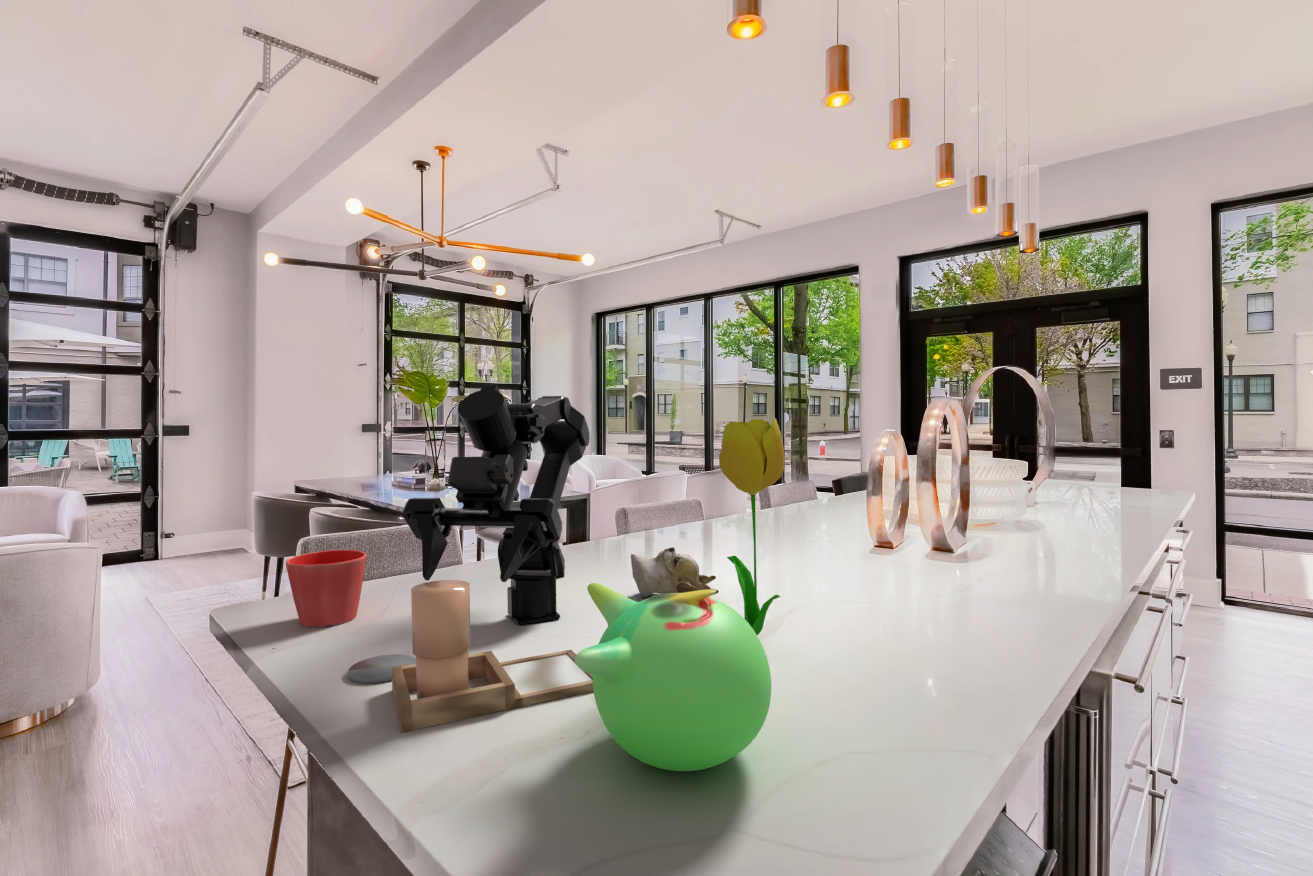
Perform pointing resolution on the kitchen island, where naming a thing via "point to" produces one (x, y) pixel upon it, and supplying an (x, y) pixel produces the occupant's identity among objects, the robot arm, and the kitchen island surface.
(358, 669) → the slate saucer
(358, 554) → the flower pot
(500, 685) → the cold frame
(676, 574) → the ceramic sculpture
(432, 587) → the tan stacked cylinder
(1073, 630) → the kitchen island surface
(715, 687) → the green round bird toy
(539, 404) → the robot arm
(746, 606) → the flower
